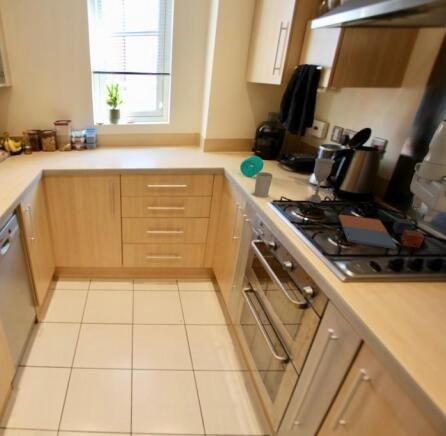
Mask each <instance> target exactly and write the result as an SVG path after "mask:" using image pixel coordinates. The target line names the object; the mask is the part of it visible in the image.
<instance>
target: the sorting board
mask: <svg viewBox="0 0 446 436" xmlns="http://www.w3.org/2000/svg"><path fill="white" fill-rule="evenodd" d="M338 219H339V222H340V225H341V228H342V231H343V233H344V236H345V239H346V241H347V242H348V243H353V244H354V243H355V244H359V245H360V244H361V245H366V246H373V247H379V248H386V249H390V250H391V249H392V250H397V249H398V248H397V247H398V246H397V244H396V243H395V241H394V240H393V238H392V236H391V235H390V234H389V232H388V230H387V228H386V227H385V225H384V224H383V222H382V221H381V220H380V219H375V218H369V217H368V218H367V217H362V216H361V217H360V216H354V215H347V214H346V215H345V214H338ZM348 234H349V235H348Z"/></svg>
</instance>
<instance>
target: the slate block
mask: <svg viewBox="0 0 446 436" xmlns="http://www.w3.org/2000/svg"><path fill="white" fill-rule="evenodd" d="M413 227H414V222H412V221H411V219H405V218H399V217H398V218H397V217H395V220H394V222H393V225H392V228H391V229H392V230H393V232H394V233H396V234H402V235H403V233H404V230H410V231H413Z"/></svg>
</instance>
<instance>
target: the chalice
mask: <svg viewBox="0 0 446 436" xmlns="http://www.w3.org/2000/svg"><path fill="white" fill-rule="evenodd" d="M314 161H315V165H314V168H313V175H314V178H315V181H316V182H317V184H316V188H315V189H314V190H315V193H314V194H311V195H310V196H309V198H308V201H309V202H312V203H316V204H317V203H319V204H320V203H322V198H321V195H320V194H319V192H320V191H321V190H320V187H321V183H322V182H325V180H326V179H327V178H328V177H329V176H330V174H331V173H332V170H333V169H332V168H333V165H334V164H335V162H336V161H335V159H330V158H319V157H318V158H315V159H314Z"/></svg>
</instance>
